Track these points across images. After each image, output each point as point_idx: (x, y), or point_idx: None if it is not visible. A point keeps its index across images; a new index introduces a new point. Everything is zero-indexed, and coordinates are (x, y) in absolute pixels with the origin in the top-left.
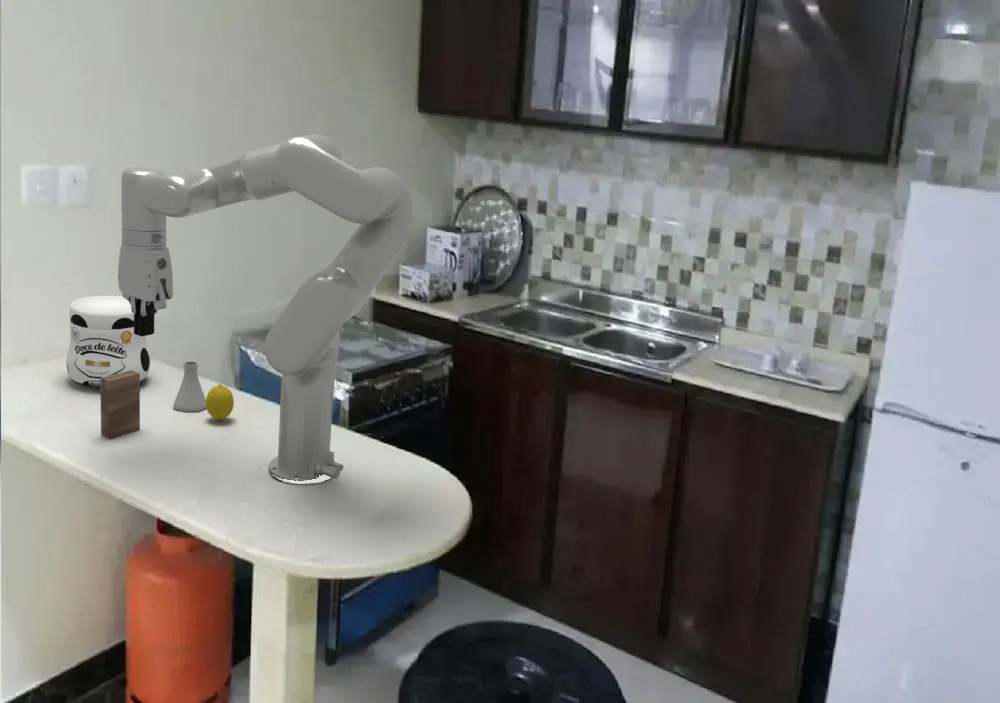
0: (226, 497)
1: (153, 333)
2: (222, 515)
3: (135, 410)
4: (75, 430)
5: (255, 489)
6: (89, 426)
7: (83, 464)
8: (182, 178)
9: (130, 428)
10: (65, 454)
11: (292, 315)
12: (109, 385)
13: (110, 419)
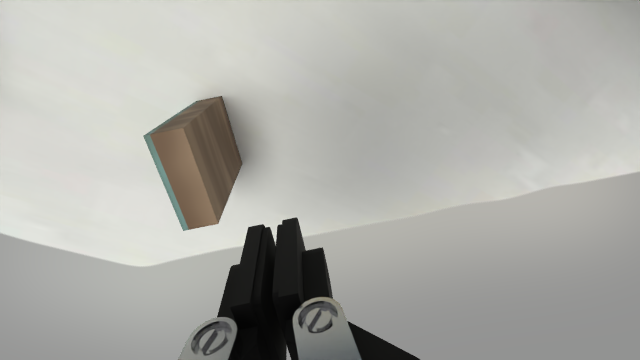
0: (560, 114)
1: (296, 218)
2: (594, 150)
3: (215, 116)
4: None
5: (579, 55)
6: None
7: (318, 232)
8: None
9: (226, 120)
10: None
11: None
12: (219, 214)
13: (235, 176)
